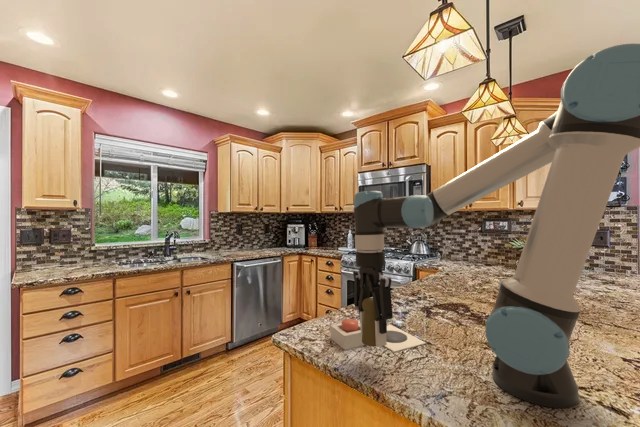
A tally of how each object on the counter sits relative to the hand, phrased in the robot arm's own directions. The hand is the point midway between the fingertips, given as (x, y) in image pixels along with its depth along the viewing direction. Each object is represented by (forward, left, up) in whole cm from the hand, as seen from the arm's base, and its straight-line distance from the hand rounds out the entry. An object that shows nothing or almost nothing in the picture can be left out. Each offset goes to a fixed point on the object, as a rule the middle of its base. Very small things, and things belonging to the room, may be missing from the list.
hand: (373, 340), depth 73 cm
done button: (+15, -2, -3) cm, 15 cm away
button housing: (+15, -2, -6) cm, 16 cm away
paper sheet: (+11, -15, -6) cm, 19 cm away
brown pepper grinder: (0, 0, 0) cm, 1 cm away
